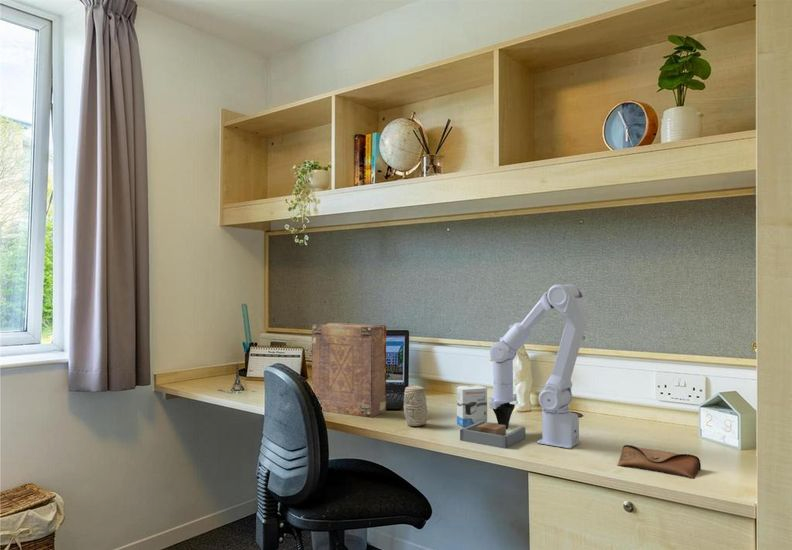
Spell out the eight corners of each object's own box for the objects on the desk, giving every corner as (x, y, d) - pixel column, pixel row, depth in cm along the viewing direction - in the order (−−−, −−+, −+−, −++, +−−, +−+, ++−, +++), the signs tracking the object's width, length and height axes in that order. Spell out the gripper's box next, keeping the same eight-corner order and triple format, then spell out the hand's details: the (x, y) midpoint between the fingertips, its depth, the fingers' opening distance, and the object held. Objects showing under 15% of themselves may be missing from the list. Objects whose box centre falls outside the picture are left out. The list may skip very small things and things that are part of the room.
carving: (407, 422, 188) (407, 384, 188) (430, 424, 186) (430, 385, 186) (400, 426, 182) (400, 387, 183) (423, 428, 180) (423, 389, 180)
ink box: (462, 427, 181) (462, 389, 181) (456, 423, 186) (456, 386, 186) (488, 425, 183) (487, 387, 184) (481, 421, 188) (481, 385, 188)
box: (525, 437, 169) (525, 427, 169) (505, 448, 158) (505, 437, 158) (481, 430, 177) (481, 420, 177) (460, 440, 167) (460, 429, 167)
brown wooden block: (505, 439, 168) (505, 425, 168) (496, 444, 163) (496, 429, 163) (487, 436, 172) (487, 422, 172) (477, 440, 167) (477, 426, 167)
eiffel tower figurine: (215, 391, 245) (215, 359, 246) (236, 388, 253) (236, 356, 253) (235, 396, 235) (235, 362, 236) (257, 392, 243) (257, 359, 243)
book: (311, 409, 208) (311, 324, 208) (327, 404, 215) (327, 322, 216) (371, 417, 195) (371, 326, 195) (386, 412, 203) (386, 325, 203)
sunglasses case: (614, 465, 143) (617, 438, 146) (620, 473, 148) (623, 447, 151) (696, 479, 133) (698, 450, 136) (700, 487, 138) (701, 459, 141)
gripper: (501, 378, 182) (501, 422, 181) (479, 385, 170) (479, 432, 170) (522, 380, 177) (523, 425, 177) (501, 387, 166) (502, 436, 166)
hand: (503, 429), depth 173 cm, fingers closed
